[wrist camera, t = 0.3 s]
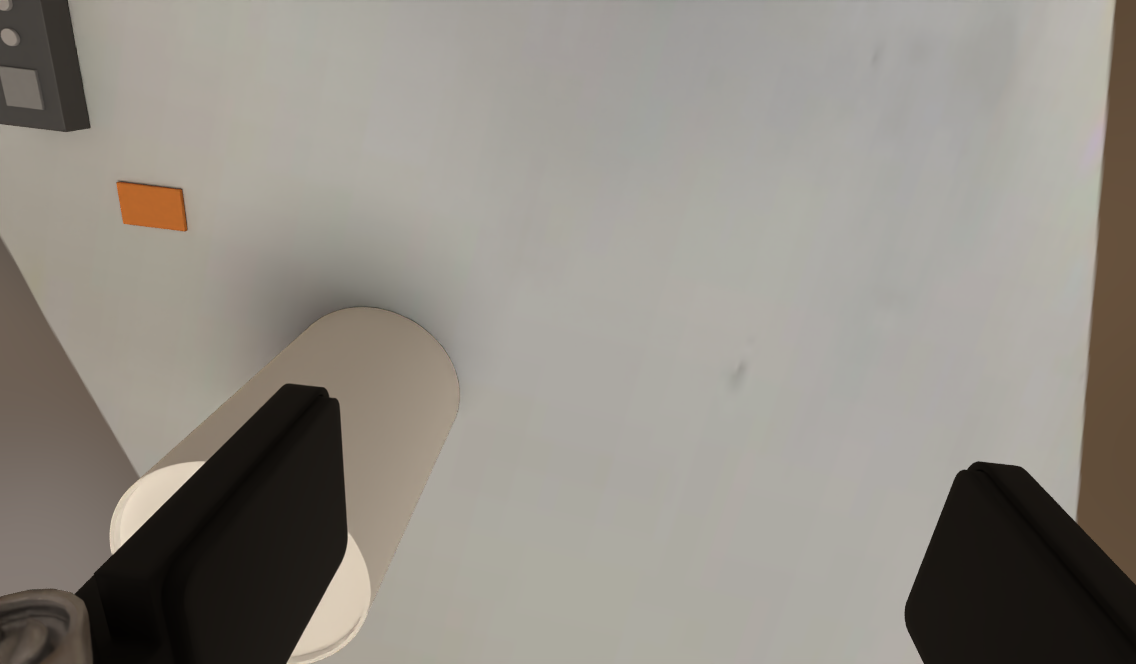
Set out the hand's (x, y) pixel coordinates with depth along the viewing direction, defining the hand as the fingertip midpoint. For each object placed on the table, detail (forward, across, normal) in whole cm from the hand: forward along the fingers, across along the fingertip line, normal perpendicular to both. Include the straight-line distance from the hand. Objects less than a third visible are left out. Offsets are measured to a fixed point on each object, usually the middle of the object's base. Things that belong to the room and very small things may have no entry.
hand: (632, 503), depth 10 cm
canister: (+37, +17, +20) cm, 45 cm away
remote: (+36, +39, -5) cm, 53 cm away
